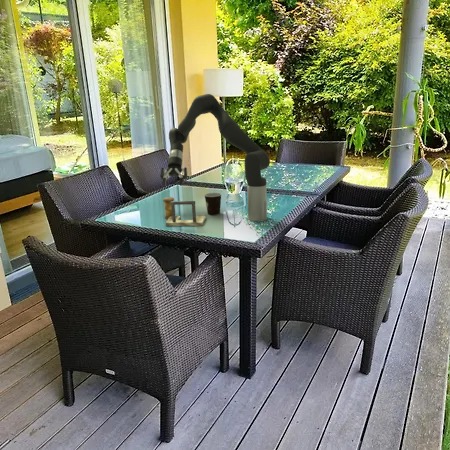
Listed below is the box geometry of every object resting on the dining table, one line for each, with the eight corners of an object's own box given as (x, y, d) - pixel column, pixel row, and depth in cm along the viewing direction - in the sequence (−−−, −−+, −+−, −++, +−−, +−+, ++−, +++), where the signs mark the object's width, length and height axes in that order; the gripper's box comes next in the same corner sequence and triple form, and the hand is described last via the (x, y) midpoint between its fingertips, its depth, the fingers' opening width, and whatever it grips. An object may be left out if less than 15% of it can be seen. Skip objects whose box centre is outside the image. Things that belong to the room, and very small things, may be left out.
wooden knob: (176, 215, 229) (175, 197, 226) (174, 219, 224) (172, 199, 221) (166, 215, 230) (164, 197, 226) (163, 219, 224) (161, 200, 221)
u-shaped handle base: (205, 218, 222) (204, 196, 218) (202, 225, 211) (201, 201, 208) (170, 219, 224) (168, 196, 220) (165, 225, 213) (163, 202, 210)
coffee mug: (206, 211, 235) (205, 193, 232) (222, 210, 234) (221, 192, 231) (204, 217, 224) (203, 198, 220) (221, 217, 223) (220, 198, 220)
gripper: (161, 156, 237) (157, 181, 230) (187, 155, 236) (184, 181, 229) (164, 164, 244) (161, 189, 237) (189, 163, 243) (187, 188, 235)
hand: (172, 185), depth 233 cm, fingers open, 8 cm apart
